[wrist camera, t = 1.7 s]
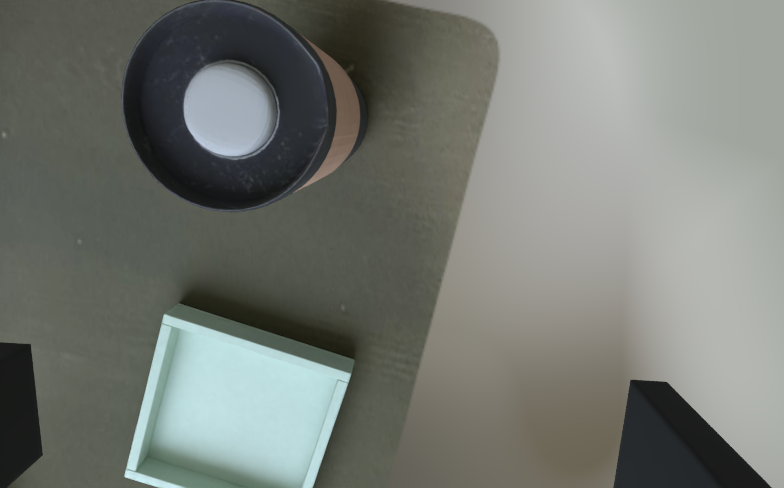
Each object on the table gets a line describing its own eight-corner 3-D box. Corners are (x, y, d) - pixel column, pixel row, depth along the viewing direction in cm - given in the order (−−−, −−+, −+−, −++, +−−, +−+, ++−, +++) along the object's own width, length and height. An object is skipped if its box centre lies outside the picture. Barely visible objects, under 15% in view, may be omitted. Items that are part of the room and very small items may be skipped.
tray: (178, 302, 42) (163, 313, 39) (355, 359, 42) (351, 373, 40) (139, 458, 45) (123, 477, 43) (304, 509, 46) (298, 530, 43)
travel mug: (245, 127, 39) (76, 129, 19) (306, 38, 37) (190, -57, 18) (330, 192, 40) (250, 257, 20) (393, 107, 38) (373, 89, 19)
